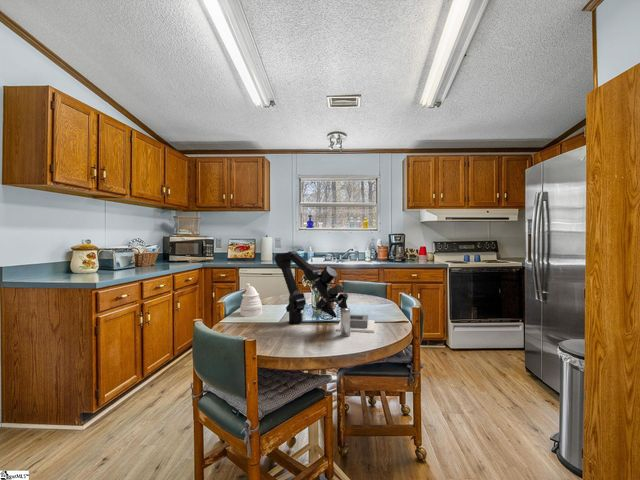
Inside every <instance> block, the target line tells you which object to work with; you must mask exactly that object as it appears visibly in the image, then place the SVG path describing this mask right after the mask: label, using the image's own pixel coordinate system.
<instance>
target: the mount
mask: <svg viewBox="0 0 640 480" xmlns="http://www.w3.org/2000/svg"><path fill="white" fill-rule="evenodd" d="M375 324H376V323H375V320H374V319H369V315H368V314H351V313H350V333H352V332H353V333H375ZM336 332H341V319H340V321H339V323H338V325H337V327H336Z"/></svg>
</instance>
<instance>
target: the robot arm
mask: <svg viewBox="0 0 640 480" xmlns="http://www.w3.org/2000/svg"><path fill="white" fill-rule="evenodd" d="M274 261H275V264H276V266H277V267H278V268H279V269H280V270H281V272H282V275H283V278H284V281H285V284H286V287H287V289H288V293H289V296H288V304H287V305H286V307H285V309H286V312H287V313H288V322H287V323H288V324H291V325H292V324H295V325H300V324H301V323H302V322H303V320H304V319H303V318H304V317H303V315H304V314H303V311H304V310H305V307H306V304H307V302H306V300H307V299H306V298H305V294H304V293H303V292H301V291H299V289H298V286H297V283H296V280H295V277H294V275H293V272H292V268H291V265H292V262H293V263H294V264H295V265H296V266H297V268H300V269H299V270H301V271H302V272H303V274H304V275H303V276H304V277H305V278H306V280H308V281H309V282H312V286H311V289H317V291H318V292H319V295H318V296H319V297H320V299H319V300H318V301H317V302H316V305H315V307H316V309H317V311H320V312H324V313H325V314H328V315H330V316H331V317H333V318H335V319H337V317H338V316H337V313H336V312H335V311H334V309H333V307H332V304H333V303H335V304H337V307H339V308H340V309H341V308H348V304H347V300H348V298H349V295H348V294H347V293H345V292H344V290H345V287H344V286H343V284H342V283H339V284H336V286H333V287H332V286H330V284H331V283H332V281H333V280H335V278H336V277H337V276H338V273H337V271H336V269H334V268H331V267H330V266H328V265H326V266H325V267H324V269H323V270H321V269H320V268H318V267H317V266H314V265H311V264H310V263H309V262H308V261H306V260H305V259H304V258H303V257H302V256H301V255H300V254H299V253H298V252H297V251H295V250H294V251H292V250H291V251H288V252H280V253H276V254H275V256H274ZM313 281H315V282H313Z"/></svg>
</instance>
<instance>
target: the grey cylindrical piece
mask: <svg viewBox="0 0 640 480" xmlns="http://www.w3.org/2000/svg"><path fill="white" fill-rule="evenodd" d="M339 310H340V313H339V316H340V320H341V331H340V336H341V337H343V338H348V337H350V336H351V332H350V314H351V309H350V308H340V309H339Z"/></svg>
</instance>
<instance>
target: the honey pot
mask: <svg viewBox="0 0 640 480" xmlns="http://www.w3.org/2000/svg"><path fill="white" fill-rule="evenodd" d="M245 287H247V289H246V290H245V292H244V293H243V294H242V295H241V296H242V299H241V303H240V306H239V308H240V309H239V312H240V316H241V317H245V316H248V317H249V318H251V317H258V316H261V315H262V314H263V304H262V301H261V298H260V293H258V292H257V290H256V288H255V287H254V286H252V285H251V283H245Z"/></svg>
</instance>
